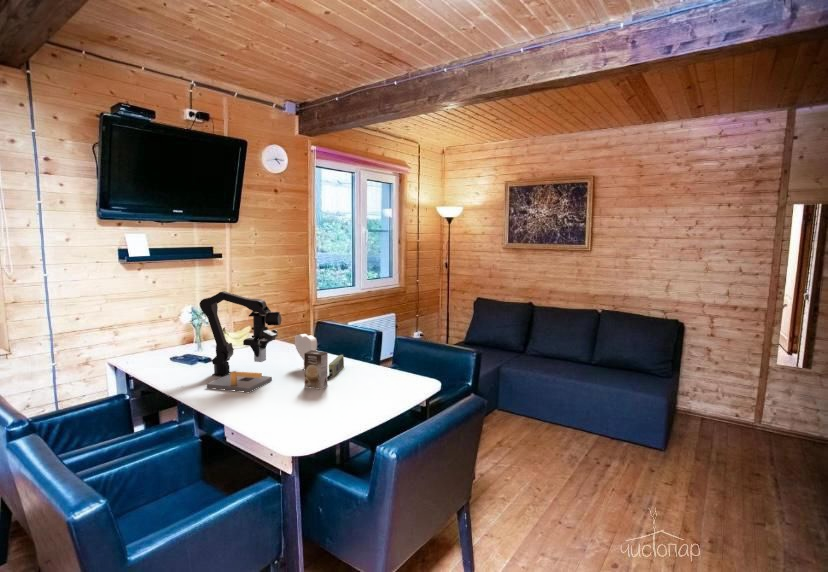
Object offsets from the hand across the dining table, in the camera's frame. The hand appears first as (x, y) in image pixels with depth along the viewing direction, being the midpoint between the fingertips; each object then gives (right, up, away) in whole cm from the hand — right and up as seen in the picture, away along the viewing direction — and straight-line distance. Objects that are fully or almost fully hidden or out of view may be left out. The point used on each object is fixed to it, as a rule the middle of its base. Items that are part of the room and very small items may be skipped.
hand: (260, 355), depth 222 cm
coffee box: (+32, -12, -16) cm, 37 cm away
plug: (0, -3, 0) cm, 3 cm away
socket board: (-4, -11, -14) cm, 19 cm away
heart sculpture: (+20, -9, +13) cm, 25 cm away
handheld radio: (+37, -10, +6) cm, 38 cm away
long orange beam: (+2, -10, -23) cm, 25 cm away
